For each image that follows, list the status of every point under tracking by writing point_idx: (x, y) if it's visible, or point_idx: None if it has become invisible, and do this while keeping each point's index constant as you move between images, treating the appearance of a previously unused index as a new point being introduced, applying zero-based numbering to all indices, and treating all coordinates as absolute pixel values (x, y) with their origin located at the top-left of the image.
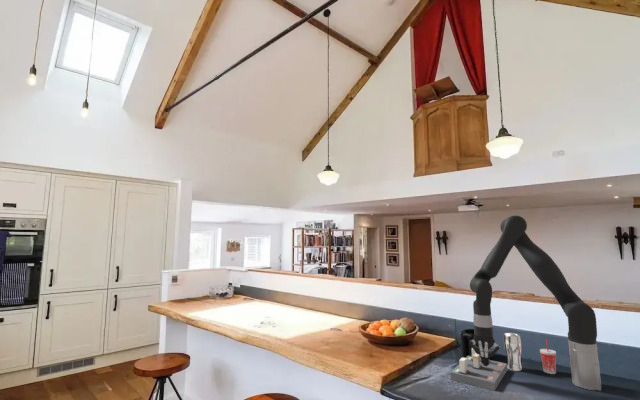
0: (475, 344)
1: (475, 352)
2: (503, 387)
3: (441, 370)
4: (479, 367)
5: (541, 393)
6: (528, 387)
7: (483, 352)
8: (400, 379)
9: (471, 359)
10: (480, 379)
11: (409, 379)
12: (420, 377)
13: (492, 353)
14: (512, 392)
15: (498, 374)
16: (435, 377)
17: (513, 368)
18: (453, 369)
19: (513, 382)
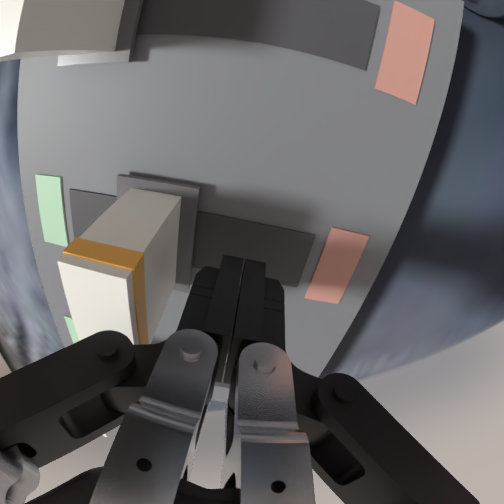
0: (6, 429)
1: (43, 53)
2: (347, 337)
3: (4, 239)
4: (181, 270)
5: (491, 321)
6: (476, 285)
7: (199, 437)
8: (3, 354)
9: (66, 64)
10: (224, 401)
11: (12, 351)
12: (14, 334)
13: (332, 463)
14: (375, 364)
15: (345, 319)
16: (37, 324)
17: (478, 6)
18: (56, 326)
19: (429, 250)
